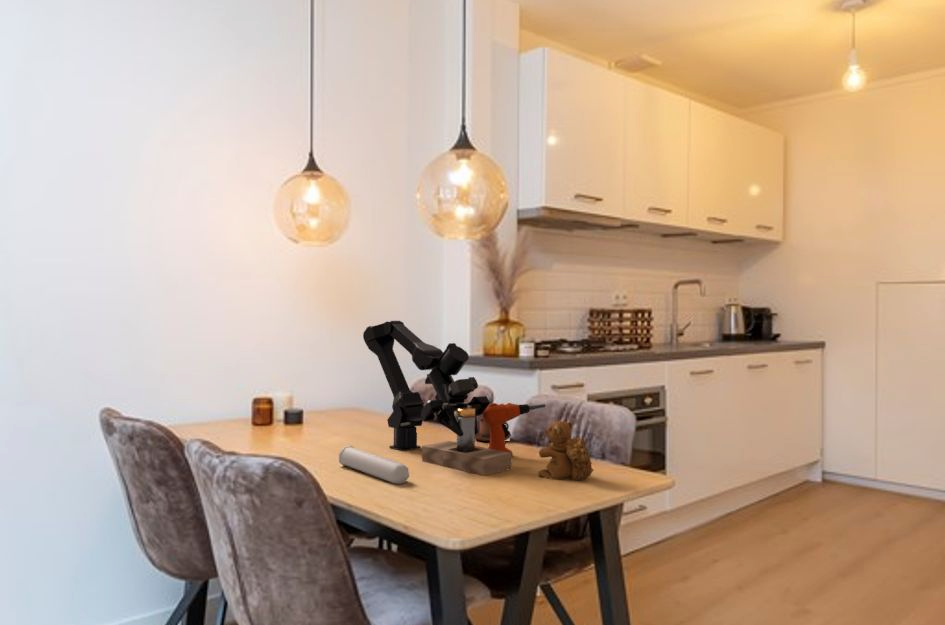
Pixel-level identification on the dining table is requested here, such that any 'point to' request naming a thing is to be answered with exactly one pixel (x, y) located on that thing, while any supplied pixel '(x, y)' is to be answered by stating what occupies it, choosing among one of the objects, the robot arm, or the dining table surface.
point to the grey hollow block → (467, 458)
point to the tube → (374, 465)
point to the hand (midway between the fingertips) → (468, 434)
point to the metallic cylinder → (466, 429)
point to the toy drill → (503, 421)
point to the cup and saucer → (486, 432)
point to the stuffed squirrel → (565, 454)
